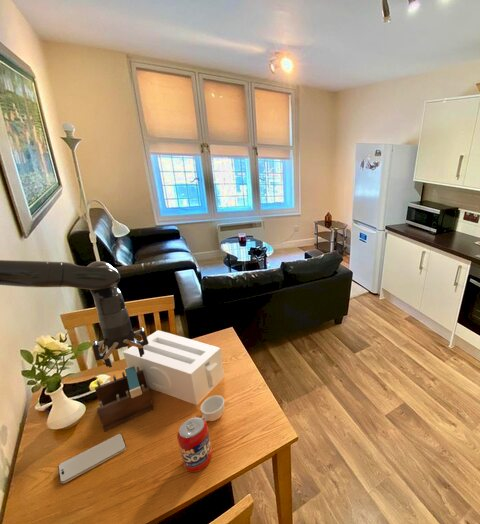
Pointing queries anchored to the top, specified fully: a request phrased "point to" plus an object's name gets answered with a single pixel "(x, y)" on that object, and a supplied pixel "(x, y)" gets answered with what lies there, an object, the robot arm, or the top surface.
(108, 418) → the rack
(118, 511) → the top surface
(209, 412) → the teacup
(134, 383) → the peg
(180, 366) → the toaster
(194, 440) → the soda can
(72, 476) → the smartphone
